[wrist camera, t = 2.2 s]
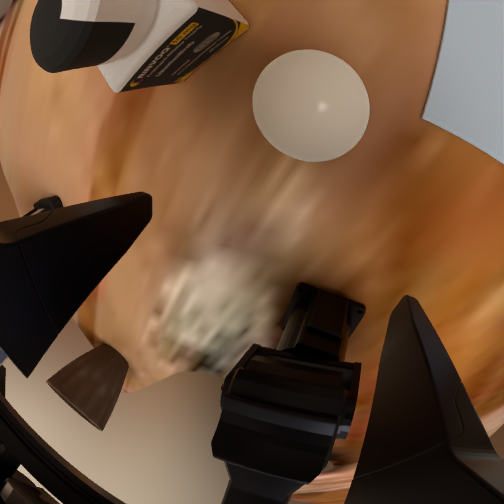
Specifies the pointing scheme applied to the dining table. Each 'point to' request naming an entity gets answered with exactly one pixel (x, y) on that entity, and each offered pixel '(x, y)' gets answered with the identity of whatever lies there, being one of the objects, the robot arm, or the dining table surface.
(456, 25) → the felt mat
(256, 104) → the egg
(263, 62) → the dining table surface
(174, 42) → the medicine bottle
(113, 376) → the plant pot
